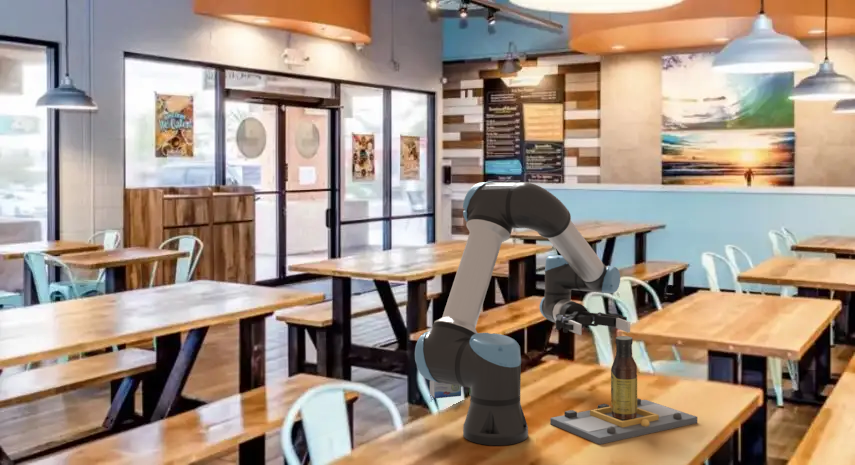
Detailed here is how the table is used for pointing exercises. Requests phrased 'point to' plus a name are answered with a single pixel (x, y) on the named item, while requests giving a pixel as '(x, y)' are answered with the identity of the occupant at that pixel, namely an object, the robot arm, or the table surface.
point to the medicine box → (444, 390)
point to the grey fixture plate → (621, 422)
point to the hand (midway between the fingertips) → (604, 328)
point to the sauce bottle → (624, 381)
